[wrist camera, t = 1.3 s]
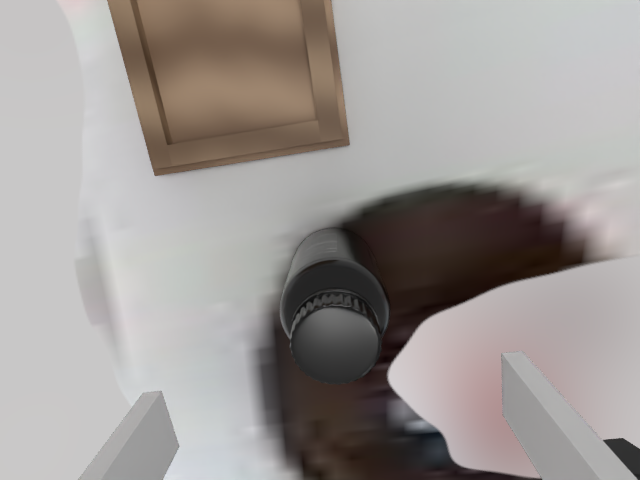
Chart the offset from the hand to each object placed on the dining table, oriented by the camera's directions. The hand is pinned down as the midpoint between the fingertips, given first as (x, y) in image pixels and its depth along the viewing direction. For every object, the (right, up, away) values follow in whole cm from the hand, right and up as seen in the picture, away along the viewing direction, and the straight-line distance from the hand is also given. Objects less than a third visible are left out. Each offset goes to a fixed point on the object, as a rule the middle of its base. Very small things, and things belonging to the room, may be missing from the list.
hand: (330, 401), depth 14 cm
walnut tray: (-7, +20, +12) cm, 24 cm away
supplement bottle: (+1, +4, +16) cm, 17 cm away
